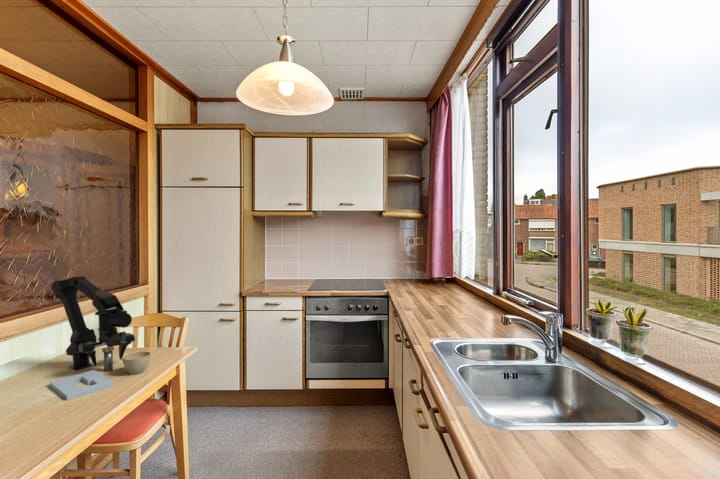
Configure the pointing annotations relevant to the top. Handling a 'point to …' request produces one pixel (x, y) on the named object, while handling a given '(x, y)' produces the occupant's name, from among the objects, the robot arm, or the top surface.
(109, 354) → the bolt
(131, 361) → the grey bowl
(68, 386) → the keyhole board
